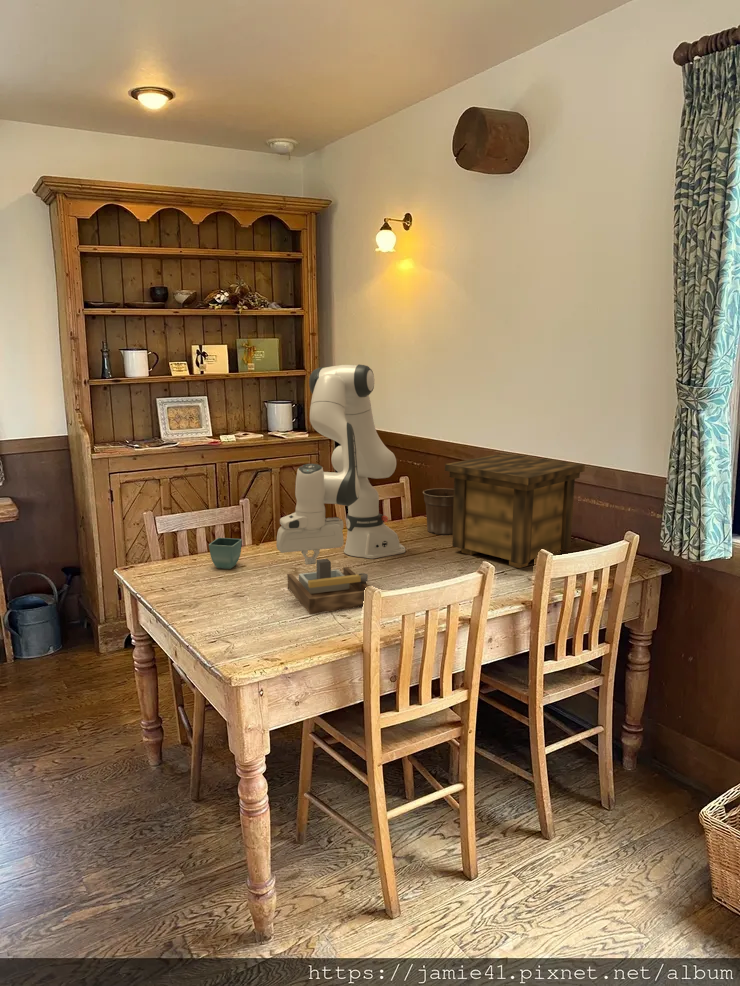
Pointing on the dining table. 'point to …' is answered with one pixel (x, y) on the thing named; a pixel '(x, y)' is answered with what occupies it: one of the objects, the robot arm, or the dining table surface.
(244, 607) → the dining table surface
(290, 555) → the dining table surface
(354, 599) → the tray
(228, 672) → the dining table surface
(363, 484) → the robot arm
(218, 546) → the flower pot
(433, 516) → the plant pot
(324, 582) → the yellow bar
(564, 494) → the crate
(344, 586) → the shallow grey tray
